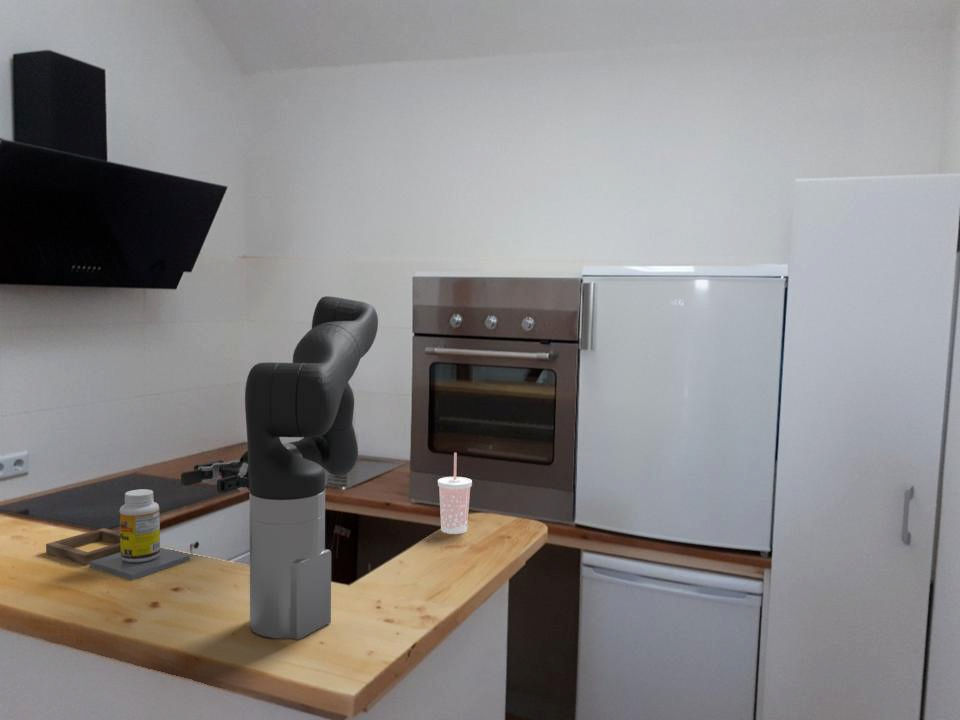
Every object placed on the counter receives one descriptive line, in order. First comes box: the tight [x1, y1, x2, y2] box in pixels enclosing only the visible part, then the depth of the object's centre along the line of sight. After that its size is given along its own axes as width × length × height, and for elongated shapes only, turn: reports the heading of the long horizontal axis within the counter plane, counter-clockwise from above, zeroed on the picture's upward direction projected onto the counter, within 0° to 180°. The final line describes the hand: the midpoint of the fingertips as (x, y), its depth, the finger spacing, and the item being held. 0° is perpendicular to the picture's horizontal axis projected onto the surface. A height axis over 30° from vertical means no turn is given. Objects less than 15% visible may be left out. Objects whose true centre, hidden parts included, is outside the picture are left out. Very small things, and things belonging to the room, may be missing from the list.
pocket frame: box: [45, 527, 121, 566], centre depth 126 cm, size 10×10×2 cm
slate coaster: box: [89, 546, 190, 581], centre depth 120 cm, size 10×10×1 cm
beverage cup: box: [437, 452, 473, 535], centre depth 140 cm, size 6×6×14 cm
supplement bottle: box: [119, 488, 161, 563], centre depth 120 cm, size 6×6×10 cm
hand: (200, 483), depth 129 cm, fingers open, 8 cm apart
